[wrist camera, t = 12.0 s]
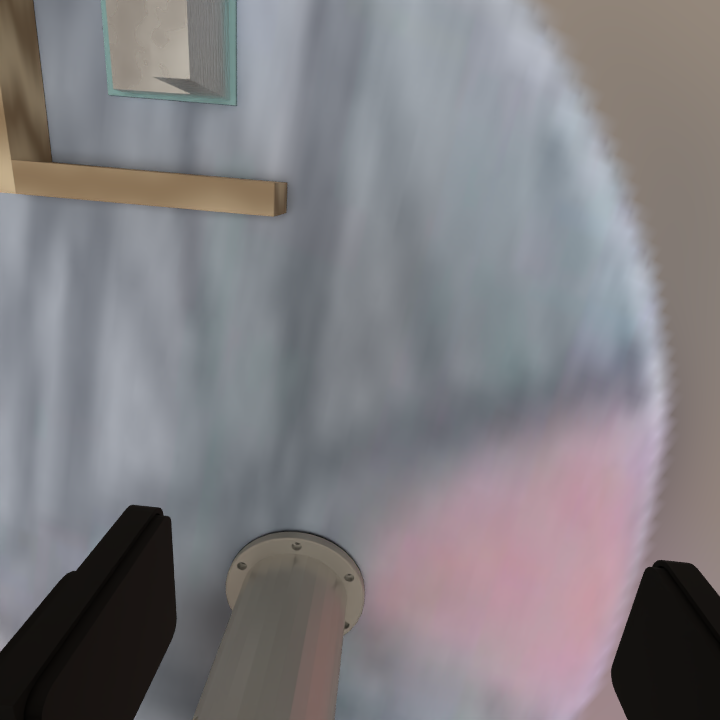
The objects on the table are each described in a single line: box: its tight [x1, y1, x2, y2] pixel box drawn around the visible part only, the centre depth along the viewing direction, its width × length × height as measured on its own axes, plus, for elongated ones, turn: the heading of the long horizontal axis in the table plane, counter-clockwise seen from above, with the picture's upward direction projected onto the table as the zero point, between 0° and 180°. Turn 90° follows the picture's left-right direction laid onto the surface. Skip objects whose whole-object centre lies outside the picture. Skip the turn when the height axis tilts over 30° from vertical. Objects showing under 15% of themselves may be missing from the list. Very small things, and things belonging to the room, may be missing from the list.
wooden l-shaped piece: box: [0, 0, 287, 217], centre depth 30 cm, size 22×18×4 cm
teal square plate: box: [101, 0, 237, 106], centre depth 31 cm, size 9×8×1 cm
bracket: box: [105, 0, 230, 100], centre depth 28 cm, size 8×7×7 cm
